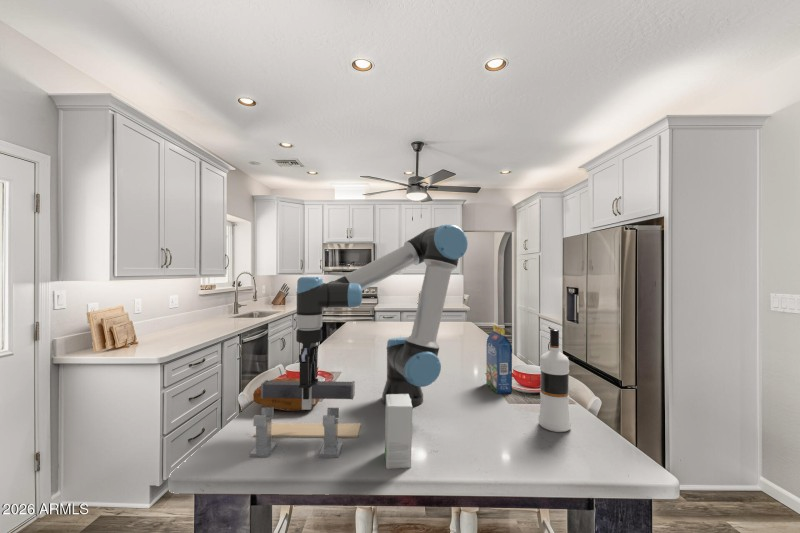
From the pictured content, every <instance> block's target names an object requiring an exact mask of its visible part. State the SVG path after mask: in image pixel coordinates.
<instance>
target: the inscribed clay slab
mask: <svg viewBox="0 0 800 533" xmlns="http://www.w3.org/2000/svg"><path fill="white" fill-rule="evenodd" d="M269 381H300V377H298V378H297V377H296V378H292V377H283V378H282V377H280V378H279V377H278V378H276V377H275V378H273V379H270V380H269ZM252 395H253V402H254V403H256V404H257V405H260V406H262V407H274V410H281V411H287V412H289V411H291V412H294V411H295V412H297V411H303V410H302V399H300V398H261V385H259V386H258V387H257V388H256V389H255V390H254V391H253V394H252ZM319 401H320V399H315V404H312V408H313V407H316V406H317V405H318V402H319Z"/></svg>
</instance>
